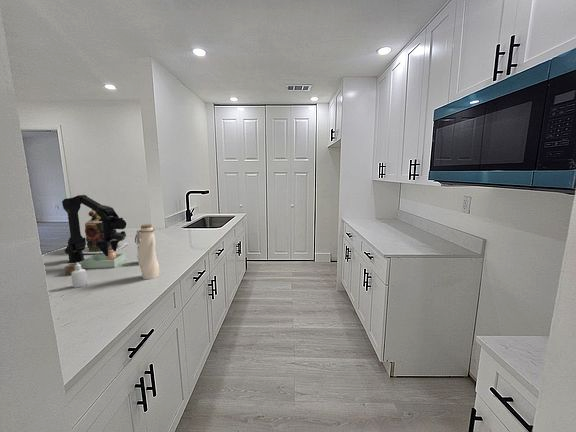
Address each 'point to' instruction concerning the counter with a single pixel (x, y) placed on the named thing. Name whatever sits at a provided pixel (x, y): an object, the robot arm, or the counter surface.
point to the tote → (102, 261)
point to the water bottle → (147, 252)
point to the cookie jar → (96, 235)
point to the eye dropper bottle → (79, 276)
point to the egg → (111, 255)
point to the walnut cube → (70, 268)
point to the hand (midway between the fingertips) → (111, 254)
